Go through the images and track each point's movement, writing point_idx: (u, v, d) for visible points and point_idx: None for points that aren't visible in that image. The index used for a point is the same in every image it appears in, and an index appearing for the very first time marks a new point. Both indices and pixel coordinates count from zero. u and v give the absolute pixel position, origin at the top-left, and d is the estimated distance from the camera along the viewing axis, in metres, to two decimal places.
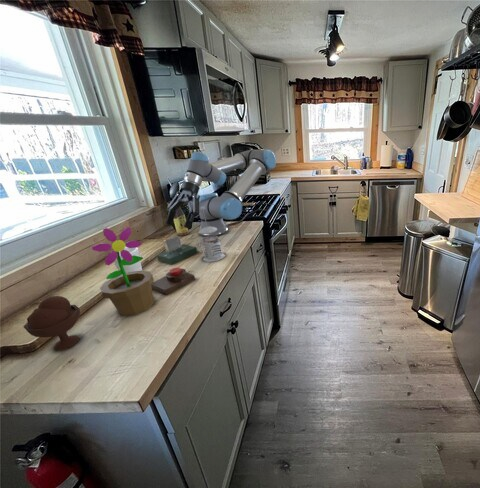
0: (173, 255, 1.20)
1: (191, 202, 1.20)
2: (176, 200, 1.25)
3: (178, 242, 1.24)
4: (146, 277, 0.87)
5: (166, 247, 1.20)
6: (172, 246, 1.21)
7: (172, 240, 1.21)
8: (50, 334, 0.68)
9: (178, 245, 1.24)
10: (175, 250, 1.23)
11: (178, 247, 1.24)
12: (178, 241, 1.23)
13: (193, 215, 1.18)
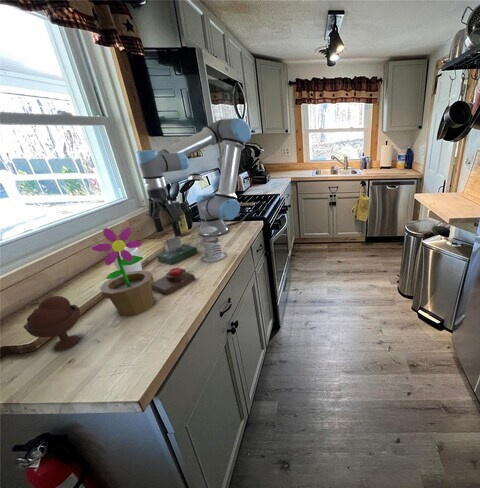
0: (173, 255, 1.20)
1: (167, 209, 1.13)
2: (153, 207, 1.18)
3: (178, 242, 1.24)
4: (146, 277, 0.87)
5: (166, 247, 1.20)
6: (172, 246, 1.21)
7: (172, 240, 1.21)
8: (50, 334, 0.68)
9: (178, 245, 1.24)
10: (175, 250, 1.23)
11: (178, 247, 1.24)
12: (178, 241, 1.23)
13: (177, 223, 1.14)
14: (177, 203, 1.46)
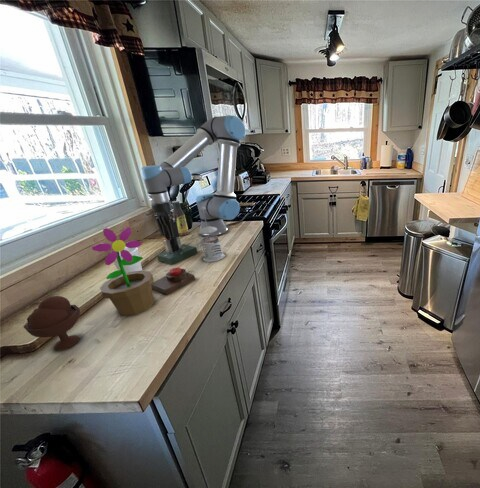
0: (173, 255, 1.20)
1: None
2: (161, 223, 1.20)
3: (178, 242, 1.24)
4: (146, 277, 0.87)
5: (166, 247, 1.20)
6: None
7: None
8: (50, 334, 0.68)
9: (178, 245, 1.24)
10: None
11: None
12: (178, 241, 1.24)
13: (175, 239, 1.20)
14: (177, 203, 1.46)
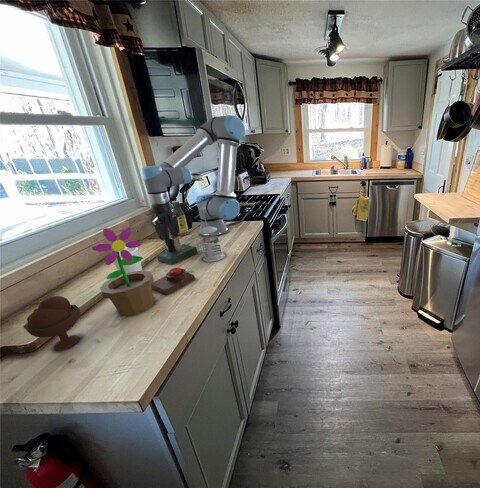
0: (173, 255, 1.20)
1: None
2: None
3: None
4: (146, 277, 0.87)
5: (179, 244, 1.22)
6: None
7: None
8: (50, 334, 0.68)
9: None
10: None
11: None
12: None
13: None
14: (177, 203, 1.46)
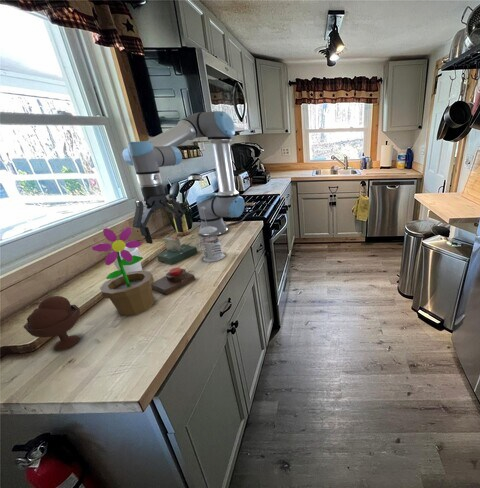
0: (173, 255, 1.20)
1: None
2: None
3: None
4: (146, 277, 0.87)
5: (179, 244, 1.22)
6: None
7: None
8: (50, 334, 0.68)
9: None
10: None
11: None
12: None
13: None
14: None
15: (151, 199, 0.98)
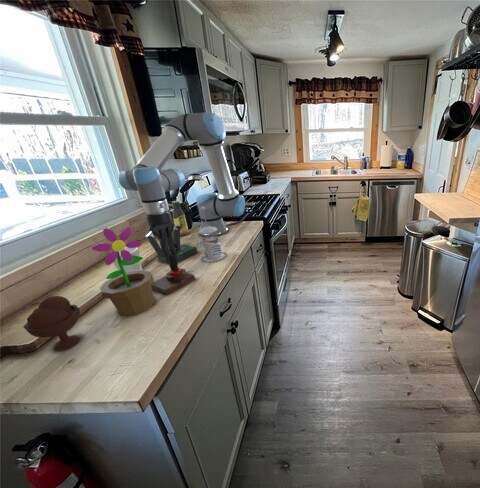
0: None
1: None
2: None
3: None
4: (146, 277, 0.87)
5: None
6: None
7: None
8: (50, 334, 0.68)
9: None
10: None
11: None
12: None
13: None
14: (177, 203, 1.46)
15: (157, 227, 0.92)
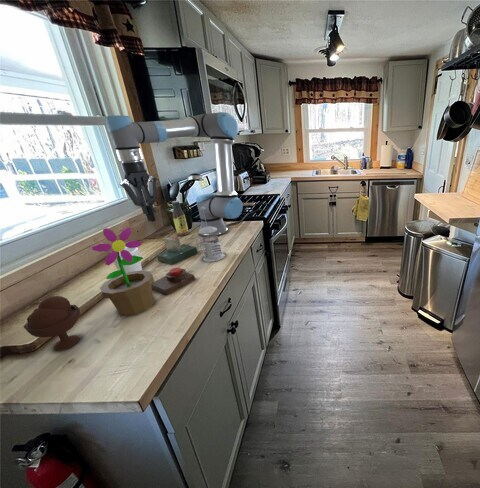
0: (173, 255, 1.20)
1: None
2: None
3: None
4: (146, 277, 0.87)
5: (179, 244, 1.22)
6: None
7: None
8: (50, 334, 0.68)
9: None
10: None
11: None
12: None
13: None
14: (177, 203, 1.46)
15: (132, 176, 0.97)
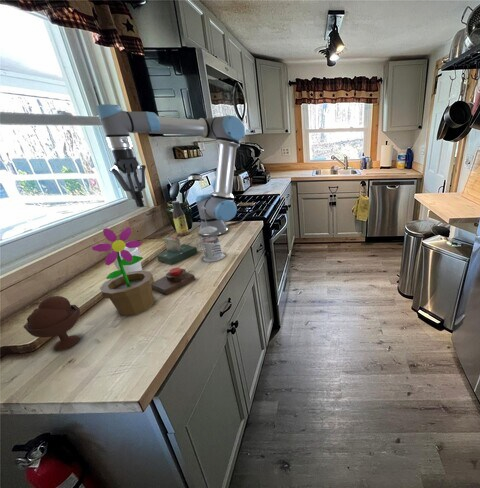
0: (173, 255, 1.20)
1: None
2: None
3: None
4: (146, 277, 0.87)
5: (179, 244, 1.22)
6: None
7: None
8: (50, 334, 0.68)
9: None
10: None
11: None
12: None
13: None
14: (177, 203, 1.46)
15: (121, 162, 1.02)
